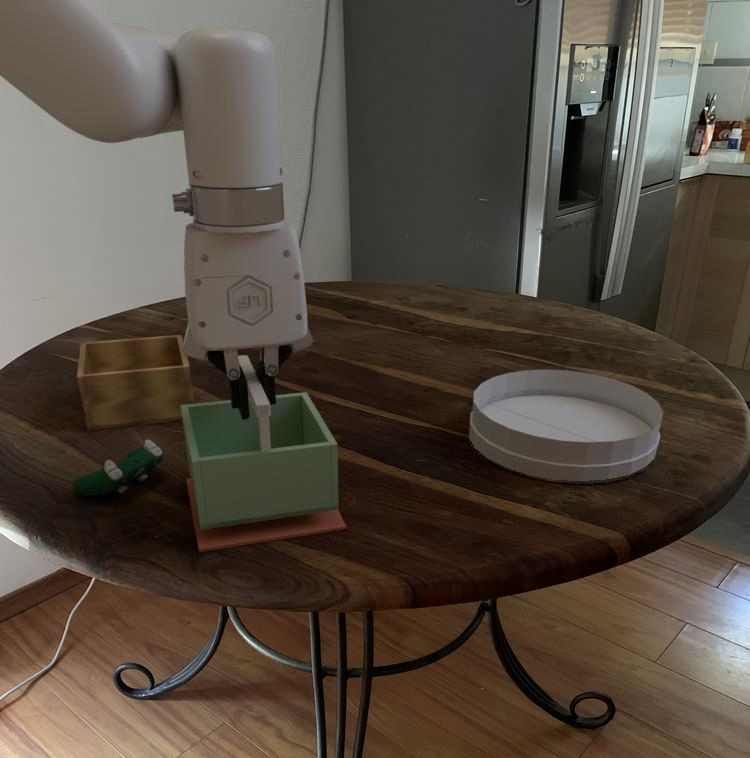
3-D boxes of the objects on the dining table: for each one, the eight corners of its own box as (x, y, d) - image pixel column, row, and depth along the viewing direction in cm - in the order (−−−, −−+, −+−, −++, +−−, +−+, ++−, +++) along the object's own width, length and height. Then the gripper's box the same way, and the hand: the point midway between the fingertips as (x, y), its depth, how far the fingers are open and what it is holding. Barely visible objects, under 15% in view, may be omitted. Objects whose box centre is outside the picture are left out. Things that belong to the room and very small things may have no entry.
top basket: (200, 530, 67) (185, 412, 61) (188, 466, 78) (174, 361, 72) (338, 509, 70) (336, 396, 64) (308, 451, 81) (304, 349, 75)
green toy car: (89, 516, 76) (112, 491, 72) (66, 487, 76) (88, 460, 72) (152, 479, 83) (177, 454, 79) (131, 452, 83) (155, 426, 79)
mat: (199, 552, 67) (198, 549, 67) (186, 481, 79) (186, 478, 79) (346, 529, 71) (346, 526, 71) (313, 465, 83) (313, 462, 82)
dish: (690, 442, 89) (699, 403, 86) (592, 506, 75) (600, 463, 73) (536, 391, 102) (540, 357, 100) (430, 438, 89) (432, 400, 86)
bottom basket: (87, 430, 90) (76, 376, 86) (90, 392, 101) (80, 342, 97) (196, 418, 93) (189, 366, 90) (187, 382, 104) (181, 334, 100)
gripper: (141, 218, 55) (172, 439, 65) (341, 211, 59) (343, 419, 69) (138, 203, 62) (167, 406, 71) (319, 197, 66) (324, 390, 75)
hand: (254, 411), depth 70 cm, fingers closed
